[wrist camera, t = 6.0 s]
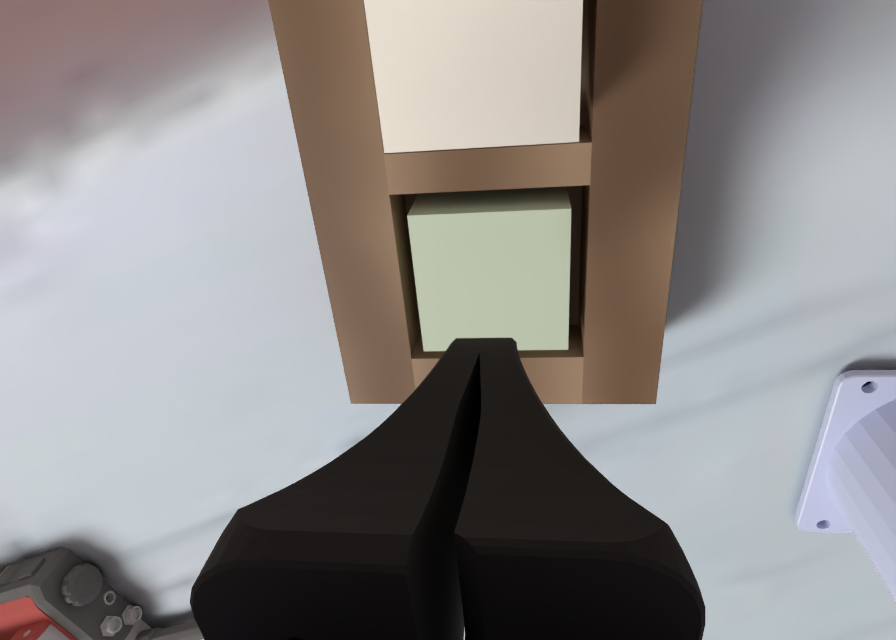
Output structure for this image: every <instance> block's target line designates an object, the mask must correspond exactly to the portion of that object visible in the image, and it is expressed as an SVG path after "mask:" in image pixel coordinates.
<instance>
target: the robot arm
mask: <svg viewBox="0 0 896 640" xmlns="http://www.w3.org/2000/svg"><path fill="white" fill-rule="evenodd" d="M870 381H872V382H871V383H870V384H869V385H867V386H864V387H862V386H863V384H865V383H866V382H870ZM794 521H795V523H796V525H797V527H798V528H799V529H800V530H802V531H807V532H835V533H854V535H855V536H856V538H857V540H858V541H859V543H860V545H861V546H862V548H863V550H864V551H865V553H866V555H867V556H868V558H869V560H870V561H871V563H872V564H873V566H874V568H875V569H876V571H877V573H878V574H879V576H880V578H881V579H882V581H883V583H884V584H885V586H886V588H887V589H888V591H889V592H890V594H891V596H892V597H893V599H894V601H895V602H896V370H851V371H846V372H844V373H842V374H840V375H839V376H838V377H837V378H836V380H835V382H834V386H833V389H832V392H831V396H830V399H829V402H828V406H827V409H826V413H825V416H824V419H823V423H822V426H821V429H820V433H819V436H818V439H817V443H816V446H815V449H814V453H813V456H812V459H811V463H810V466H809V470H808V473H807V476H806V480H805V483H804V486H803V490H802V493H801V496H800V500H799V503H798V506H797V510H796V513H795V517H794ZM190 605H191V608H192V612H193V615H194V618H195V621H196V623H197V625H198V627H199V629H200V631H201V633H202V635H203V637H204V640H463V637H464V627H465V640H702V636H703V632H704V627H705V605H704V602H703V598H702V595H701V591H700V589H699V586H698V583H697V581H696V578H695V576H694V574H693V572H692V569H691V567H690V565H689V563H688V561H687V559H686V556H685V554H684V552H683V550H682V548H681V547H680V545H679V543H678V541H677V539H676V537H675V536H674V534H673V532H672V530H671V528H670V527H669V525H668V524H667V523H665V522H664V521H662V520H661V519H660V518H658V517H657V516H655V515H654V514H652V513H651V512H649V511H648V510H646V509H645V508H643V507H642V506H641V505H639V504H638V503H636V502H635V501H633V500H632V499H630V498H629V497H628V496H626V495H625V494H624V493H622V492H621V491H620V490H619V489H618V488H616V487H615V486H614V485H613V484H611V483H610V482H609V481H608V480H607V479H606V478H605V477H604V476H603V475H602V474H601V473H600V472H599V471H598V470H597V469H596V468H595V467H594V466H593V465H592V464H591V463H589V462H588V461H587V460H586V459H585V458H584V457H583V456H582V454H581V453H580V452H579V451H578V450H577V449H576V448H575V447H574V445H573V444H572V443H571V442H570V441H569V440H568V438H567V437H566V436H565V435H564V433H563V432H562V431H561V430H560V428H559V427H558V426H557V424H556V423H555V421H554V420H553V419H552V417H551V416H550V414H549V413H548V411H547V410H546V408H545V407H544V405H543V404H542V402H541V400H540V399H539V397H538V395H537V393H536V392H535V390H534V388H533V386H532V384H531V382H530V380H529V378H528V376H527V374H526V372H525V370H524V367H523V365H522V362H521V360H520V357H519V353H518V349H517V342H516V341H515V340H514V339H513V338H456V339H455V340H454V341H453V342H452V343H451V344H450V345H449V347H448V348H447V350H446V351H445V353H444V354H443V355H442V357H441V358H440V359H439V361H438V362H437V363H436V365H435V366H434V367H433V369H432V370H431V371H430V372H429V374H428V375H427V376H426V377H425V379H424V380H423V381H422V382H421V383H420V385H419V386H418V387H417V388H416V389H415V390H414V392H413V393H412V394H411V395H410V396H409V397H408V398H407V399H406V400H405V401H404V402H403V403H402V404H401V405H400V406H399V407H398V409H397V410H396V411H395V412H394V413H393V414H392V415H391V416H389V417H388V418H387V419H386V420H385V421H384V422H383V423H382V424H381V425H380V426H379V427H377V428H376V429H375V430H374V431H373V432H372V433H370V434H369V435H368V436H367V437H365V438H364V439H363V440H361V441H360V442H359V443H357V444H356V445H354V446H353V447H351V448H350V449H349V450H347V451H346V452H344V453H343V454H342V455H340V456H339V457H337V458H336V459H334V460H333V461H331V462H330V463H328V464H327V465H325V466H323V467H322V468H320V469H318V470H317V471H315V472H313V473H312V474H310V475H308V476H306V477H304V478H303V479H301V480H299V481H297V482H295V483H294V484H292V485H290V486H288V487H286V488H284V489H282V490H280V491H278V492H275V493H273V494H271V495H269V496H267V497H265V498H263V499H260V500H258V501H256V502H254V503H252V504H250V505H247V506H245V507H243V508H240V509H238V510H237V512H236V513H235V515H234V516H233V518H232V519H231V521H230V522H229V524H228V525H227V527H226V528H225V530H224V531H223V533H222V534H221V536H220V538H219V540H218V541H217V543H216V545H215V547H214V549H213V550H212V552H211V554H210V556H209V558H208V560H207V561H206V563H205V565H204V567H203V569H202V570H201V572H200V574H199V576H198V578H197V580H196V581H195V583H194V585H193V587H192V591H191V598H190Z"/></svg>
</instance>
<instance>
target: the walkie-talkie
mask: <svg viewBox="0 0 896 640" xmlns="http://www.w3.org/2000/svg"><path fill="white" fill-rule="evenodd" d="M141 617H142V609H141V607H139V606H132V605H131V604H130V603H129V602H128V601H126V600H125V599H124V598H123V597H122V596H121V595H120V594H119V593H118V592H116V591H115V590H114V589H113V588H112V587H111V586H110V585H109V584H108V583H106V582H105V581H104V580H103V578H102V575H101V572H100V570H99V568H97V567H94V566H93V565H92V564H87V563H84V562H83V561H82V560H81V559H80V558H79V557H77V556H76V555H75V554H74V553H73V552H72V551H71V550H70V549H66V548H61V547H60V548H57V549H54V550H51V551H48V552H44V553H41V554H38V555H35V556H32V557H29V558H26V559H23V560H20V561H17V562H14V563H11V564H8V565H7V566H6V567H5V566H2V567H1V568H0V640H201V639H204V637H203V635H202V633H201V631H200V629H199V627H198V625H197V623H196V621H191V622H187V623H183V624H179V625H175V626H171V627H167V628H161V627H156V628H151V627H149V626H148V625H147V624H146V623H145V622H144V621H143V620H142V619H141Z"/></svg>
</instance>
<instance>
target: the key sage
mask: <svg viewBox="0 0 896 640" xmlns="http://www.w3.org/2000/svg"><path fill="white" fill-rule="evenodd" d="M407 219H408V227H409V236H410V244H411V252H412V260H413V268H414V277H415V285H416V293H417V301H418V309H419V317H420V326H421V334H422V342H423V350H424V351H446V350H447V348H448V347H449V345H450V344H451V343H452V342H453V341H454V340H455V339H456V338H513V339H514V340H515V341H516V342H517V349H518V350H568V336H569V291H570V247H571V205H570V200H569V196H568V192H567V187H566V186H562V187H541V188H520V189H499V190H479V191H458V192H437V193H418V195H417V197H416V199H415V201H414V203H413V205H412V207H411V209H410V211H409V213H408V215H407Z"/></svg>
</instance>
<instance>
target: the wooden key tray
mask: <svg viewBox="0 0 896 640" xmlns="http://www.w3.org/2000/svg"><path fill="white" fill-rule="evenodd" d="M268 1H269V6H270V11H271V16H272V21H273V25H274V30H275V35H276V40H277V45H278V50H279V55H280V60H281V64H282V69H283V74H284V79H285V84H286V89H287V94H288V99H289V103H290V108H291V113H292V118H293V123H294V128H295V133H296V137H297V142H298V147H299V152H300V157H301V162H302V167H303V172H304V176H305V181H306V186H307V191H308V196H309V201H310V206H311V211H312V215H313V220H314V225H315V230H316V235H317V240H318V245H319V249H320V254H321V259H322V264H323V269H324V274H325V279H326V284H327V288H328V293H329V298H330V303H331V308H332V313H333V318H334V323H335V327H336V332H337V337H338V342H339V347H340V352H341V357H342V362H343V366H344V371H345V376H346V381H347V386H348V391H349V396H350V400H351V404H402V403H403V402H404V401H405V400H406V399H407V398H408V397H409V396H410V395H411V394H412V393H413V392H414V390H415V389H416V388H417V387H418V386H419V385H420V383H421V382H422V381H423V380H424V379H425V377H426V376H427V375H428V374H429V372H430V371H431V370H432V369H433V367H434V366H435V365H436V363H437V362H438V361H439V359H440V358H441V357H442V355H443V354H444V353H445V351H424V350H423V342H422V334H421V326H420V317H419V309H418V301H417V293H416V285H415V277H414V268H413V260H412V252H411V244H410V236H409V227H408V219H407V215H408V213H409V211H410V209H411V207H412V205H413V203H414V201H415V199H416V197H417V195H418V193H437V192H458V191H479V190H499V189H520V188H541V187H562V186H566V187H567V192H568V196H569V200H570V205H571V247H570V291H569V336H568V350H518V353H519V357H520V360H521V362H522V365H523V367H524V370H525V372H526V374H527V376H528V378H529V380H530V382H531V384H532V386H533V388H534V390H535V392H536V393H537V395H538V397H539V399H540V400H541V402H542V404H656V398H657V389H658V381H659V372H660V364H661V355H662V346H663V338H664V329H665V321H666V312H667V303H668V295H669V286H670V277H671V269H672V260H673V252H674V243H675V234H676V226H677V217H678V209H679V200H680V191H681V183H682V174H683V166H684V157H685V148H686V140H687V131H688V123H689V114H690V105H691V97H692V88H693V80H694V71H695V62H696V54H697V45H698V37H699V28H700V19H701V11H702V2H703V0H583V16H582V52H581V88H580V125H579V142H568V143H551V144H534V145H517V146H499V147H482V148H465V149H448V150H431V151H413V152H396V153H384V147H383V140H382V132H381V125H380V117H379V110H378V102H377V95H376V88H375V80H374V73H373V65H372V58H371V50H370V43H369V36H368V28H367V21H366V13H365V6H364V0H268Z"/></svg>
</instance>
